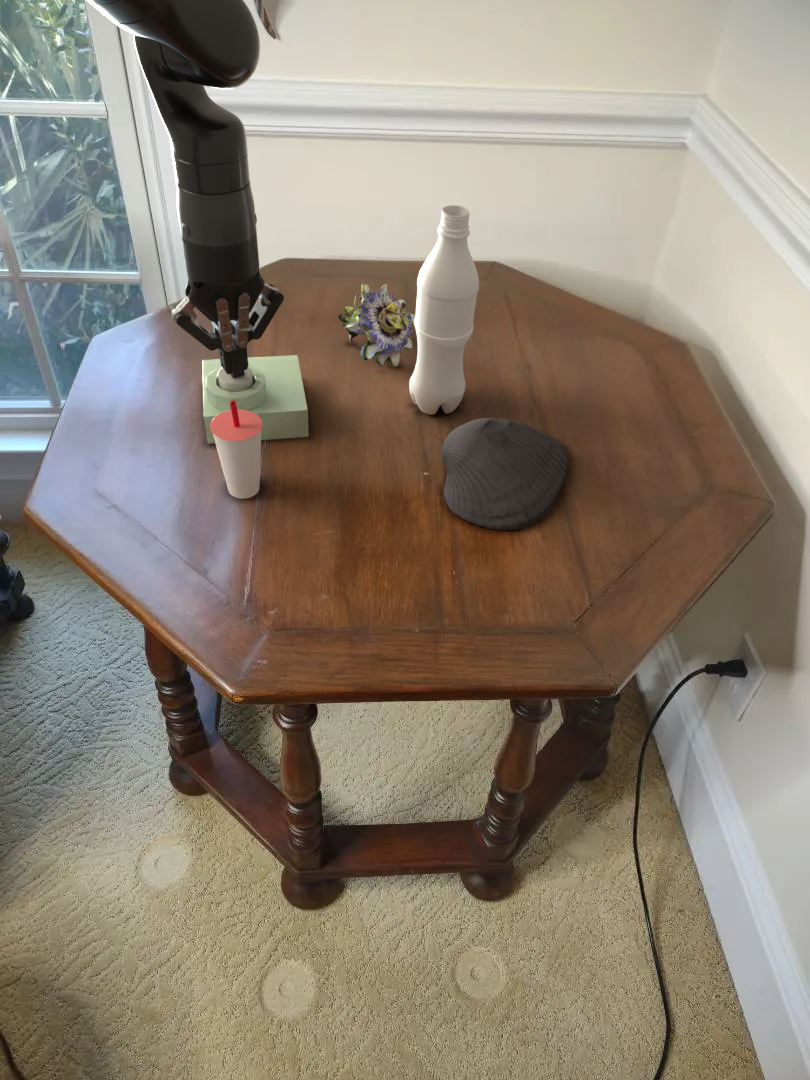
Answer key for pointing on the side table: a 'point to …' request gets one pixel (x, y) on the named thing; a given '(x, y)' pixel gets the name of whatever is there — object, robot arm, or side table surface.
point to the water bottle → (444, 315)
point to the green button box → (261, 396)
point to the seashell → (502, 473)
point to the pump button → (235, 381)
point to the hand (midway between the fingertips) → (235, 373)
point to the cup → (239, 449)
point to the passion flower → (380, 325)
